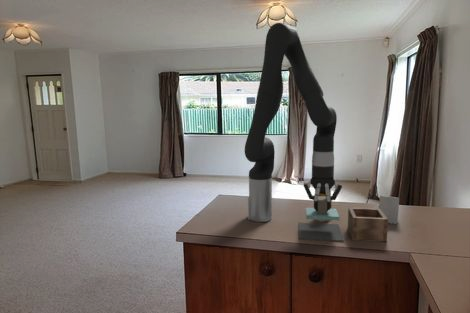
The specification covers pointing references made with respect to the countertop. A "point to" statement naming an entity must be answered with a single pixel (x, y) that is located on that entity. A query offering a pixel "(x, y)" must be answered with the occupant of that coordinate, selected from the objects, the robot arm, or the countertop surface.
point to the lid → (322, 211)
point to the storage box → (367, 224)
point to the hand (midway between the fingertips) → (321, 210)
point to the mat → (320, 231)
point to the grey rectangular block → (390, 208)
